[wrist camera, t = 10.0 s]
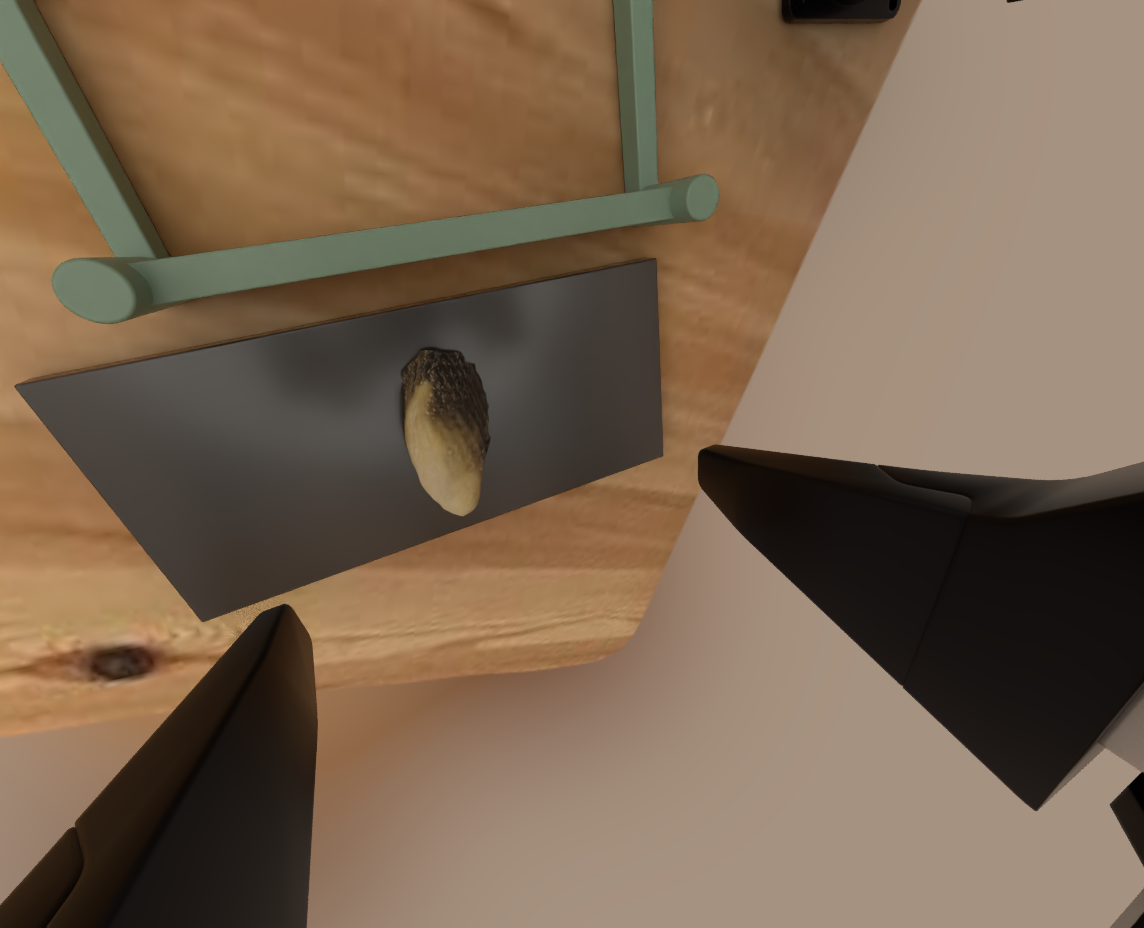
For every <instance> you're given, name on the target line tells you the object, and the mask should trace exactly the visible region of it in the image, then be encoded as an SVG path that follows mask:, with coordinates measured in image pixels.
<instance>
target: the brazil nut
mask: <svg viewBox="0 0 1144 928" xmlns="http://www.w3.org/2000/svg"><path fill="white" fill-rule="evenodd" d="M402 379H403V381H404V390H403V400H404V415H405V417H404V421H403V430H404V437H405V444H406V447H407V448H408V451H409V455H410V458H411V461H412V463H413V465H414V467H415V469H416V471H417V474H418V476H419V480H420V483H421V484H422V486H423V488H424V489H425V490H426V491H427V493H428V494H429V495H430V496H431V497H432V498H433V499H434V500H435V501H436V502H438V503H439V504H440V505H441V507H442V508H443V509H444V510H447V511H449V512H451V513H453V514H456V515H459V516H465V515H467V514H469V513H470V512H472V511H473V510H474V509H475V507H476V506H477V504H478V501H479V498H480V492H481V483H482V477H483V469H484V464H485V457H486V454H487V451H488V447H489V443H490V440H491V437H490V435H489V432H488V423H489V416H488V409H489V404H488V403H487V398H486V392H485V391H484V389H483V384H482V380H481V378H480V376H479V374H478V373H477V371H476V366H475V364H474V363H465V357H464V356H463V354H462V353H461V352H453V353H450V354H448V353H444V352H440V351H437V350H422V351H420V353H419V355H418V357H417V359H415V360H413V361H412V362H411V363H410V364H409V366H407V367H406V368H405V369H403V370H402Z"/></svg>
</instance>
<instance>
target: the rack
mask: <svg viewBox="0 0 1144 928" xmlns="http://www.w3.org/2000/svg"><path fill="white" fill-rule="evenodd" d="M613 7H614V22H615V38H616V54H617V70H618V85H619V101H620V117H621V133H622V149H623V164H624V180H625V193H622V194H614V195H607V196H600V197H593V198H586V199H579V200H572V201H565V202H558V203H551V204H544V205H537V206H530V207H523V208H516V209H508V210H501V211H494V212H487V213H480V214H473V215H466V216H459V217H452V218H445V219H438V220H431V221H424V222H417V223H410V224H402V225H395V226H388V227H381V228H374V229H367V230H360V231H353V232H346V233H339V234H332V235H325V236H318V237H311V238H303V239H296V240H289V241H282V242H275V243H268V244H261V245H254V246H247V247H240V248H233V249H226V250H219V251H212V252H205V253H197V254H190V255H183V256H176V257H170V256H169V254H168V252H167V250H166V248H165V247H164V245H163V243H162V241H161V239H160V237H159V235H158V233H157V232H156V230H155V228H154V226H153V224H152V222H151V220H150V218H149V217H148V215H147V213H146V211H145V209H144V207H143V205H142V203H141V202H140V200H139V198H138V196H137V194H136V192H135V190H134V188H133V187H132V185H131V183H130V181H129V179H128V177H127V175H126V173H125V172H124V170H123V168H122V166H121V164H120V162H119V160H118V158H117V157H116V155H115V153H114V151H113V149H112V147H111V145H110V143H109V142H108V140H107V138H106V136H105V134H104V132H103V130H102V128H101V127H100V125H99V123H98V121H97V119H96V117H95V115H94V113H93V112H92V110H91V108H90V106H89V104H88V102H87V100H86V98H85V97H84V95H83V93H82V91H81V89H80V87H79V85H78V83H77V82H76V80H75V78H74V76H73V74H72V72H71V70H70V68H69V67H68V65H67V63H66V61H65V59H64V57H63V55H62V53H61V52H60V50H59V48H58V46H57V44H56V42H55V40H54V38H53V37H52V35H51V33H50V31H49V29H48V27H47V25H46V23H45V22H44V20H43V18H42V16H41V14H40V12H39V10H38V8H37V7H36V5H35V3H34V1H33V0H0V61H1V63H2V65H3V66H4V68H5V70H6V72H7V73H8V75H9V77H10V78H11V80H12V82H13V83H14V85H15V87H16V89H17V90H18V92H19V94H20V95H21V97H22V99H23V100H24V102H25V104H26V106H27V107H28V109H29V111H30V112H31V114H32V116H33V117H34V119H35V121H36V123H37V124H38V126H39V128H40V129H41V131H42V133H43V134H44V136H45V138H46V140H47V141H48V143H49V145H50V146H51V148H52V150H53V151H54V153H55V155H56V157H57V158H58V160H59V162H60V163H61V165H62V167H63V168H64V170H65V172H66V173H67V175H68V177H69V179H70V180H71V182H72V184H73V185H74V187H75V189H76V190H77V192H78V194H79V196H80V197H81V199H82V201H83V202H84V204H85V206H86V207H87V209H88V211H89V213H90V214H91V216H92V218H93V219H94V221H95V223H96V224H97V226H98V228H99V230H100V231H101V233H102V235H103V236H104V238H105V240H106V241H107V243H108V245H109V247H110V248H111V250H112V252H113V253H114V255H115V257H103V258H75V259H70V260H67V261H65V262H63V263H61V264H60V265H59V266H58V267H57V268H56V269H55V271H54V272H53V276H52V286H53V290H54V292H55V294H56V296H57V298H58V299H59V300H60V302H61V303H62V304H63V305H64V306H65V307H66V308H67V309H69V310H70V311H71V312H73V313H74V314H76V315H78V316H80V317H82V318H84V319H86V320H89V321H92V322H96V323H102V324H114V323H119V322H123V321H126V320H130V319H133V318H136V317H139V316H143V315H146V314H149V313H153V312H156V311H159V310H163V309H166V308H169V307H173V306H176V305H179V304H182V303H184V302H186V301H188V300H191V299H197V298H203V297H208V296H214V295H220V294H226V293H232V292H238V291H244V290H250V289H256V288H262V287H268V286H274V285H280V284H286V283H292V282H298V281H304V280H310V279H316V278H322V277H327V276H333V275H339V274H345V273H351V272H357V271H363V270H369V269H375V268H381V267H387V266H393V265H399V264H405V263H411V262H417V261H423V260H429V259H435V258H441V257H446V256H452V255H458V254H464V253H470V252H476V251H482V250H488V249H494V248H500V247H506V246H512V245H518V244H524V243H530V242H536V241H542V240H548V239H554V238H560V237H565V236H571V235H577V234H583V233H589V232H595V231H601V230H607V229H613V228H619V227H625V226H632V227H640V226H652V225H663V224H674V223H686V222H697V221H704V220H706V219H708V218H709V217H710V216H711V215H712V214H713V213H714V211H715V210H716V207H717V205H718V201H719V189H718V185H717V183H716V181H715V180H714V178H713V177H711V176H710V175H708V174H700V175H696V176H691V177H687V178H682V179H678V180H673V181H669V182H664V183H660V184H658V161H657V129H656V97H655V65H654V34H653V2H652V0H613Z"/></svg>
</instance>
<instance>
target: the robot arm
mask: <svg viewBox="0 0 1144 928" xmlns="http://www.w3.org/2000/svg"><path fill="white" fill-rule="evenodd" d="M794 1H795V3H796V8H795V5H794ZM1015 1H1021V0H1007V2H1008V3H1010V2H1015ZM900 4H901V0H782V15H783V18H784V20H785V21H786V22H787V23H882V22H884V21H887V20H889V19H891V18H894V16H895V15H896V14H897V12H898V10H899V7H900ZM698 481H699V484H700V487H701V488H702V490H703V491H704V492H705V493H706V494H707V495H708V497H709V498H710V499H711V500H712V501H713V502H714V504H715V505H716V506H717V507H718V508H719V509H720V511H721V512H722V513H723V514H724V515H725V516H726V517H727V518H728V520H729V521H730V522H731V523H732V525H733V526H734V527H735V528H736V529H737V530H738V531H739V532H740V533H741V534H742V535H743V536H744V537H745V538H746V539H747V540H748V541H749V542H750V543H751V544H752V545H753V546H754V547H755V548H756V549H757V550H759V552H761V553H762V554H763V555H764V556H765V557H766V558H767V559H768V560H769V561H770V562H771V563H773V565H774V566H775V567H776V568H777V569H779V570H780V571H781V572H782V573H783V574H784V575H785V576H786V577H787V578H788V579H789V580H790V581H791V582H792V583H793V584H794V585H795V586H796V587H797V588H799V589H800V590H801V591H802V592H803V593H804V594H805V595H806V596H807V597H808V598H809V599H810V600H811V601H812V602H813V603H814V604H816V606H818V607H819V608H820V609H821V610H822V611H823V612H824V613H825V614H826V615H827V616H828V617H829V618H830V619H831V620H832V621H834V623H836V624H837V625H838V626H839V627H840V628H841V629H842V630H843V631H844V632H845V633H846V634H847V635H848V636H849V637H850V638H851V639H852V640H853V641H854V642H856V643H857V644H858V645H859V646H860V647H861V648H862V649H863V650H864V651H865V652H866V653H867V654H868V655H869V656H870V657H872V658H873V659H874V660H875V661H876V662H877V663H878V664H879V665H880V666H881V667H882V668H883V669H884V670H885V671H886V672H887V673H888V674H889V675H890V676H891V677H893V678H894V679H895V680H896V681H897V682H898V683H899V684H900V685H902V686H903V688H904V689H905V690H906V691H907V692H908V693H909V694H910V695H911V696H912V697H913V698H914V699H915V700H916V701H918V702H919V703H920V704H921V705H922V706H923V707H924V708H925V709H926V710H927V711H928V712H929V713H930V714H931V715H932V716H933V717H934V718H935V719H937V720H938V721H939V722H940V723H941V724H942V725H943V726H944V727H945V728H946V729H947V730H948V731H949V732H950V733H951V734H952V735H953V736H954V737H955V738H957V739H958V740H959V741H960V742H961V743H962V744H963V745H964V746H965V747H966V748H967V749H968V750H969V751H970V752H971V753H972V754H973V755H974V756H976V757H977V758H978V759H979V760H980V761H981V762H982V763H983V764H984V765H985V766H986V767H987V768H988V769H989V770H990V771H991V772H992V773H993V774H994V775H996V776H997V777H998V778H999V779H1000V780H1001V781H1002V782H1003V783H1004V784H1005V785H1006V786H1007V787H1008V788H1009V789H1010V790H1012V791H1013V793H1015V794H1016V795H1017V796H1018V797H1019V798H1020V799H1021V800H1022V801H1024V803H1026V804H1027V805H1028V806H1029V807H1031V808H1032V809H1033V810H1035V811H1038V810H1039V809H1040V808H1041V807H1042V806H1043V805H1044V804H1045V803H1046V802H1047V801H1049V800H1050V799H1051V798H1052V797H1053V796H1054V795H1055V794H1056V793H1057V792H1058V791H1059V790H1060V789H1062V788H1063V787H1064V786H1065V785H1066V784H1067V783H1068V782H1069V781H1070V780H1071V779H1072V778H1073V777H1075V776H1076V775H1077V774H1078V773H1079V772H1080V771H1081V770H1082V769H1083V768H1084V767H1085V766H1086V765H1087V764H1089V763H1090V762H1091V761H1092V760H1093V759H1094V758H1095V757H1096V756H1097V755H1098V754H1099V753H1100V752H1101V751H1103V750H1104V749H1105V748H1107V749H1108V750H1110V751H1111V752H1113V753H1114V754H1116V755H1117V756H1119V757H1120V758H1122V759H1123V760H1125V761H1126V762H1128V763H1129V764H1131V765H1132V766H1134V767H1135V768H1137V769H1138V770H1140V771H1141V774H1139V775H1138V776H1137V777H1136V778H1135V780H1133V781H1132V782H1131V783H1130V785H1128V786H1127V787H1126V788H1125V789H1124V790H1123V792H1121V794H1120V795H1119V796H1118V797H1117V798H1116V799H1115V800H1114V801H1113V802H1112V803H1111V804H1110V806H1111V808H1112V810H1113V812H1114V814H1115V815H1116V817H1117V819H1118V821H1119V823H1120V825H1121V826H1122V828H1123V830H1124V832H1125V834H1126V835H1127V837H1128V839H1129V841H1130V843H1131V845H1132V846H1133V848H1134V850H1135V852H1136V854H1137V855H1138V857H1139V859H1140V861H1141V863H1142V864H1143V866H1144V462H1141V463H1138V464H1134V465H1130V466H1126V467H1123V468H1119V469H1115V470H1112V471H1108V472H1104V473H1101V474H1097V475H1093V476H1088V477H1082V478H1077V479H1067V480H1032V479H1020V478H1008V477H995V476H984V475H971V474H960V473H949V472H938V471H927V470H919V469H910V468H901V467H893V466H884V465H878V466H877V465H875V464H868V463H860V462H852V461H844V460H836V459H828V458H820V457H812V456H804V455H796V454H788V453H780V452H772V451H764V450H756V449H748V448H740V447H732V446H724V445H712V446H709V447H706V448H704V449H702V450H700V452H699V454H698ZM317 730H318V719H317V703H316V688H315V674H314V661H313V647H312V641H311V638H310V635H309V633H308V631H307V630H306V628H305V627H304V625H303V624H302V622H301V621H300V619H299V618H298V616H297V615H296V613H295V611H294V610H293V609H292V607H290V606H289V605H287V604H282V605H280V606H277V607H274V608H271V609H269V610H266V611H263V612H262V613H260V614H259V615H258V616H257V617H256V618H255V620H254V621H253V622H252V623H251V624H250V625H249V626H248V627H247V629H246V630H245V631H244V632H243V633H242V634H241V635H240V637H239V638H238V639H237V640H236V641H235V642H234V643H233V644H232V646H231V647H230V648H229V649H228V650H227V651H226V652H225V653H224V655H223V656H222V657H221V658H220V659H219V660H218V661H217V662H216V664H215V665H214V666H213V667H212V668H211V669H210V670H209V671H208V673H207V674H206V675H205V676H204V677H203V678H202V679H201V680H200V682H199V683H198V684H197V685H196V686H195V687H194V688H193V690H192V691H191V692H190V693H189V694H188V695H187V696H186V697H185V699H184V700H183V701H182V702H181V703H180V704H179V705H178V706H177V708H176V709H175V710H174V711H173V712H172V713H171V714H170V715H169V717H168V718H167V719H166V720H165V721H164V722H163V723H162V724H161V726H160V727H159V728H158V729H157V730H156V731H155V732H154V733H153V735H152V736H151V737H150V738H149V739H148V740H147V741H146V742H145V744H144V745H143V746H142V747H141V748H140V749H139V750H138V751H137V753H136V754H135V755H134V756H133V757H132V758H131V759H130V761H129V762H128V763H127V764H126V765H125V766H124V767H123V768H122V769H121V771H120V772H119V773H118V774H117V775H116V776H115V777H114V778H113V780H112V781H111V782H110V783H109V784H108V785H107V786H106V788H105V789H104V790H103V791H102V792H101V793H100V794H99V795H98V797H97V798H96V799H95V800H94V801H93V802H92V803H91V804H90V806H89V807H88V808H87V809H86V810H85V811H84V812H83V813H82V815H81V816H80V817H79V818H78V819H77V820H76V822H75V827H72V828H70V829H68V830H67V831H66V832H65V833H64V835H63V836H62V837H61V838H60V839H59V841H57V843H56V844H55V845H54V846H53V847H52V848H51V849H50V851H49V852H48V853H47V854H46V855H45V856H44V857H43V859H42V860H41V861H40V862H39V863H38V864H37V865H36V866H35V867H34V868H33V870H32V871H31V872H30V873H29V874H28V875H27V876H26V877H25V878H24V880H23V881H22V882H21V883H20V884H19V885H18V886H17V887H16V888H15V889H14V890H13V892H12V893H11V894H10V895H9V896H8V897H7V898H6V899H5V900H4V901H3V903H2V904H1V905H0V928H307V911H308V893H309V876H310V856H311V839H312V822H313V821H312V820H313V805H314V787H315V769H316V752H317ZM1110 928H1144V889H1143V890H1142V891H1141V892H1140V893H1139V895H1138V896H1137V897H1136V898H1135V899H1134V900H1133V902H1132V903H1131V904H1130V905H1129V906H1128V907H1127V909H1126V910H1125V911H1124V912H1123V913H1122V914H1121V915H1120V917H1119V918H1118V919H1117V920H1116V921H1115V922H1114V924H1113V925H1112V926H1111V927H1110Z"/></svg>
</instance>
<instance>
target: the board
mask: <svg viewBox="0 0 1144 928" xmlns="http://www.w3.org/2000/svg"><path fill="white" fill-rule="evenodd" d="M422 350H437V351H440V352H444V353H448V354H450V353H453V352H461V353H462V354H463V356H464V357H465V363H474V364H475V366H476V371H477V373H478V374H479V376H480V378H481V380H482V384H483V389H484V391H485V392H486V398H487V403H488V404H489V409H488V416H489V423H488V432H489V435H490V437H491V440H490V443H489V447H488V451H487V454H486V457H485V464H484V469H483V477H482V483H481V492H480V498H479V501H478V504H477V506H476V507H475V509H474V510H473V511H472V512H470V513H469V514H467V515H465V516H459V515H456V514H453V513H451V512H449V511H447V510H444V509H443V508H442V507H441V505H440V504H439V503H438V502H436V501H435V500H434V499H433V498H432V497H431V496H430V495H429V494H428V493H427V491H426V490H425V489H424V488H423V486H422V484H421V483H420V480H419V476H418V474H417V471H416V469H415V467H414V465H413V463H412V461H411V458H410V455H409V451H408V448H407V447H406V444H405V437H404V430H403V421H404V417H405V415H404V400H403V390H404V381H403V379H402V370H403V369H405V368H406V367H407V366H409V364H410V363H411V362H412V361H413V360H415V359H417V357H418V355H419V353H420V351H422ZM15 388H16V390H17V391H18V392H19V393H20V395H21V396H22V397H23V398H24V400H25V401H26V402H27V403H28V405H29V406H30V407H31V408H32V410H33V411H34V412H35V413H36V415H37V416H38V417H39V418H40V420H41V421H42V422H43V423H44V425H45V426H46V427H47V428H48V430H49V431H50V432H51V433H52V435H53V436H54V437H55V438H56V440H57V441H58V442H59V443H60V445H61V446H62V447H63V448H64V450H65V451H66V452H67V453H68V455H69V456H70V457H71V458H72V460H73V461H74V462H75V463H76V465H77V466H78V467H79V468H80V470H81V471H82V472H83V473H84V475H85V476H86V477H87V478H88V480H89V481H90V482H91V484H92V485H93V486H94V487H95V489H96V490H97V491H98V492H99V494H100V495H101V496H102V497H103V499H104V500H105V501H106V502H107V504H108V505H109V506H110V507H111V509H112V510H113V511H114V512H115V514H116V515H117V516H118V517H119V519H120V520H121V521H122V522H123V524H124V525H125V526H126V527H127V529H128V530H129V531H130V532H131V534H132V535H133V536H134V537H135V539H136V540H137V541H138V542H139V544H140V545H141V546H142V547H143V549H144V550H145V551H146V552H147V554H148V555H149V556H150V557H151V559H152V560H153V561H154V562H155V564H156V565H157V566H158V567H159V569H160V570H161V571H162V572H163V574H164V575H165V576H166V577H167V579H168V580H169V581H170V582H171V584H172V585H173V586H174V587H175V589H176V590H177V591H178V592H179V594H180V595H181V596H182V597H183V599H184V600H185V601H186V602H187V604H188V605H189V606H190V607H191V609H192V610H193V611H194V613H195V614H196V615H197V616H198V618H199V619H200V620H201V621H202V622H205V621H208V620H210V619H213V618H216V617H219V616H222V615H224V614H227V613H230V612H233V611H235V610H238V609H241V608H244V607H246V606H249V605H252V604H255V603H258V602H260V601H263V600H266V599H269V598H271V597H274V596H277V595H280V594H282V593H285V592H288V591H291V590H294V589H296V588H299V587H302V586H305V585H307V584H310V583H313V582H316V581H318V580H321V579H324V578H327V577H330V576H332V575H335V574H338V573H341V572H343V571H346V570H349V569H352V568H354V567H357V566H360V565H363V564H366V563H368V562H371V561H374V560H377V559H379V558H382V557H385V556H388V555H390V554H393V553H396V552H399V551H402V550H404V549H407V548H410V547H413V546H415V545H418V544H421V543H424V542H426V541H429V540H432V539H435V538H438V537H440V536H443V535H446V534H449V533H451V532H454V531H457V530H460V529H462V528H465V527H468V526H471V525H474V524H476V523H479V522H482V521H485V520H487V519H490V518H493V517H496V516H498V515H501V514H504V513H507V512H510V511H512V510H515V509H518V508H521V507H523V506H526V505H529V504H532V503H534V502H537V501H540V500H543V499H546V498H548V497H551V496H554V495H557V494H559V493H562V492H565V491H568V490H570V489H573V488H576V487H579V486H582V485H584V484H587V483H590V482H593V481H595V480H598V479H601V478H604V477H606V476H609V475H612V474H615V473H618V472H620V471H623V470H626V469H629V468H631V467H634V466H637V465H640V464H642V463H645V462H648V461H651V460H654V459H656V458H659V457H662V456H663V431H662V403H661V375H660V347H659V319H658V291H657V263H656V258H643V259H638V260H633V261H628V262H623V263H618V264H613V265H608V266H603V267H598V268H592V269H587V270H582V271H577V272H572V273H567V274H562V275H557V276H552V277H547V278H541V279H536V280H531V281H526V282H521V283H516V284H511V285H506V286H501V287H496V288H491V289H485V290H480V291H475V292H470V293H465V294H460V295H455V296H450V297H445V298H440V299H435V300H429V301H424V302H419V303H414V304H409V305H404V306H399V307H394V308H389V309H384V310H378V311H373V312H368V313H363V314H358V315H353V316H348V317H343V318H338V319H333V320H328V321H322V322H317V323H312V324H307V325H302V326H297V327H292V328H287V329H282V330H277V331H272V332H266V333H261V334H256V335H251V336H246V337H241V338H236V339H231V340H226V341H221V342H215V343H210V344H205V345H200V346H195V347H190V348H185V349H180V350H175V351H170V352H165V353H159V354H154V355H149V356H144V357H139V358H134V359H129V360H124V361H119V362H114V363H109V364H103V365H98V366H93V367H88V368H83V369H78V370H73V371H68V372H63V373H58V374H52V375H47V376H42V377H37V378H32V379H29V380H26V381H24V382H21V383H18V384H16V385H15Z"/></svg>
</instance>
